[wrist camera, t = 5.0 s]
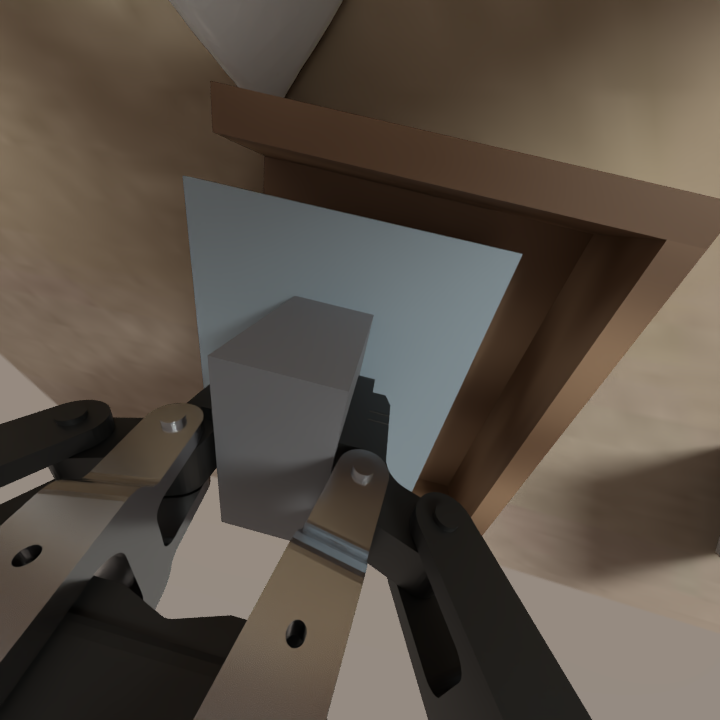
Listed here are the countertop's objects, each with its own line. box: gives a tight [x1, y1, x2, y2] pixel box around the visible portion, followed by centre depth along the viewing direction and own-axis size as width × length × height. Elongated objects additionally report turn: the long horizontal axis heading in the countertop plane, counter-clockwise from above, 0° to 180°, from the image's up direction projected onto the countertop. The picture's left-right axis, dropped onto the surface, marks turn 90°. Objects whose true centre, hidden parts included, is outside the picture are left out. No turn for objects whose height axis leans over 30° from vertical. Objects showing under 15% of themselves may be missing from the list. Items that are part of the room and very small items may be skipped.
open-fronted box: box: [210, 81, 720, 535], centre depth 12 cm, size 16×13×4 cm
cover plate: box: [183, 176, 523, 541], centre depth 10 cm, size 12×11×6 cm
